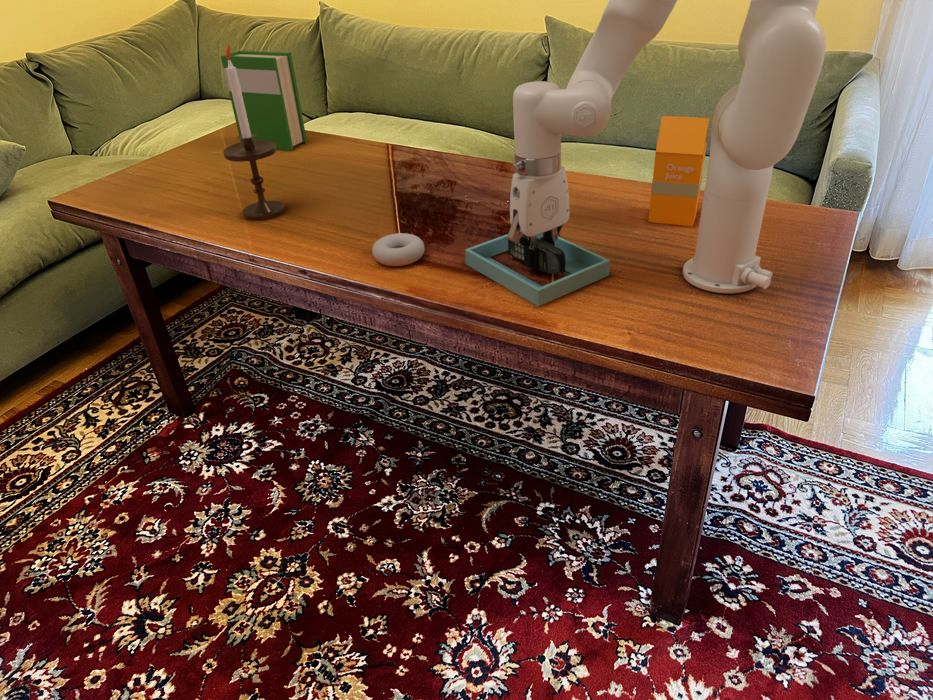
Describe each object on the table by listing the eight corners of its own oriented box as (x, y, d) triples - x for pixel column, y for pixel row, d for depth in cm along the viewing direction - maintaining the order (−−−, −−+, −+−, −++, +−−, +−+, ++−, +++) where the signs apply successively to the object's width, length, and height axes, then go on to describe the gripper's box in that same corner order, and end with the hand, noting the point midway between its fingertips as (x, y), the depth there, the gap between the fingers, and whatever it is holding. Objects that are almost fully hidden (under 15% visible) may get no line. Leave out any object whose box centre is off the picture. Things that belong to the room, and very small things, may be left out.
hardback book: (307, 142, 193) (290, 52, 180) (291, 150, 188) (273, 58, 174) (258, 137, 200) (238, 50, 186) (241, 145, 194) (220, 56, 181)
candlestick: (298, 206, 153) (265, 38, 134) (268, 224, 145) (227, 49, 126) (260, 200, 157) (222, 37, 138) (229, 218, 149) (183, 47, 130)
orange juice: (653, 207, 142) (664, 110, 131) (697, 211, 140) (712, 112, 128) (647, 222, 137) (658, 121, 125) (693, 226, 134) (708, 124, 122)
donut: (369, 251, 132) (378, 273, 124) (366, 235, 130) (375, 255, 122) (419, 243, 134) (431, 263, 126) (417, 227, 132) (429, 246, 124)
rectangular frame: (609, 275, 119) (610, 260, 117) (538, 306, 111) (538, 290, 110) (533, 238, 133) (533, 224, 131) (465, 264, 125) (464, 249, 124)
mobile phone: (504, 232, 123) (563, 255, 113) (516, 227, 125) (575, 249, 114) (505, 257, 126) (563, 282, 115) (517, 251, 127) (575, 276, 117)
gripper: (513, 181, 105) (517, 286, 115) (590, 155, 112) (587, 256, 122) (484, 170, 110) (490, 271, 120) (559, 146, 117) (559, 243, 128)
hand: (539, 262), depth 121 cm, fingers closed on mobile phone, 3 cm apart
